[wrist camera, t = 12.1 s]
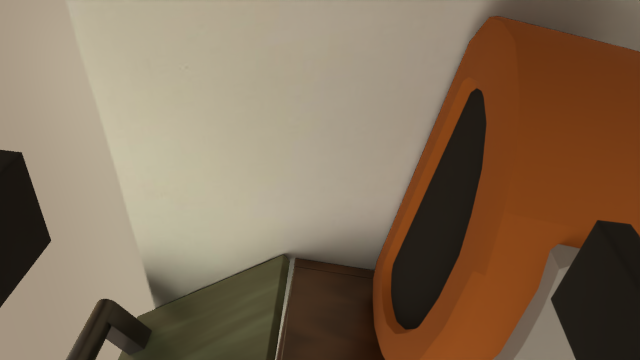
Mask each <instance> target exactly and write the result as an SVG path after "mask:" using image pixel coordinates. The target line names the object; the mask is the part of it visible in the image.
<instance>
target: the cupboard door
mask: <svg viewBox="0 0 640 360" xmlns="http://www.w3.org/2000/svg"><path fill="white" fill-rule="evenodd" d="M289 263H290V261H289V260H288V259H287V258H286V257H285V256H284V255H282V256H279V257H277V258H275V259H272V260H270V261H268V262H265V263H263V264H261V265H258V266H256V267H253V268H251V269H249V270H246V271H244V272H242V273H239V274H237V275H235V276H232V277H230V278H228V279H225V280H223V281H220V282H218V283H216V284H213V285H211V286H209V287H206V288H204V289H202V290H199V291H197V292H195V293H192V294H190V295H187V296H185V297H183V298H180V299H178V300H176V301H173V302H171V303H169V304H166V305H164V306H162V307H159V308H157V309H154V310H152V311H150V312H147V313H145V314H143V315H140V316H138V317H137V318H135V317H134V316H133V315H131V314H130V313H129V312H128V311H126V310H125V309H124V308H122V307H121V306H120V305H119V304H117V303H116V302H114V301H112V300H109V299H101V300H99V301H98V302H97V304H96V306H95V308H94V310H93V311H92V313H91V315H90V317H89V319H88V320H87V322H86V324H85V326H84V328H83V330H82V331H81V333H80V335H79V337H78V339H77V340H76V342H75V344H74V346H73V348H72V350H71V352H70V353H69V355H68V357H67V359H66V360H95V359H96V357H97V355H98V353H99V351H100V349H101V347H102V345H103V343H104V341H105V339H107V340H109V341H110V342H111V343H113V344H114V345H116V346H117V347H118V348H120V349H121V350H122V352H121V354H120V357H119V359H118V360H275V356H276V350H277V343H278V336H279V330H280V323H281V316H282V310H283V303H284V296H285V290H286V283H287V276H288V270H289Z"/></svg>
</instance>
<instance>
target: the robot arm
mask: <svg viewBox="0 0 640 360" xmlns="http://www.w3.org/2000/svg"><path fill="white" fill-rule="evenodd" d="M50 241H51V239H50V236H49V233H48V230H47V227H46V224H45V221H44V218H43V215H42V212H41V209H40V206H39V203H38V200H37V197H36V194H35V191H34V188H33V185H32V182H31V179H30V176H29V173H28V170H27V167H26V164H25V161H24V158H23V155H22V153H21V152H14V151H5V150H0V307H1V306H2V305H3V303H4V302H5V301H6V299H7V298H8V297H9V295H10V294H11V293H12V291H13V290H14V289H15V288H16V286H17V285H18V283H19V282H20V281H21V280H22V278H23V277H24V276H25V274H26V273H27V272H28V271H29V269H30V268H31V267H32V265H33V264H34V263H35V261H36V260H37V259H38V258H39V256H40V255H41V254H42V252H43V251H44V250H45V248H46V247H47V246H48V244H49V243H50ZM551 302H552V304H553V306H554V309H555V311H556V314H557V316H558V318H559V321H560V323H561V326H562V328H563V330H564V333H565V335H566V338H567V340H568V342H569V345H570V347H571V350H572V352H573V354H574V357H575V359H576V360H640V236H639V235H638V233H637V232H636V231H635V229H634V228H633V226H632V225H631V224H627V223H619V222H610V221H602V220H597V221H596V223H595V225H594V227H593V228H592V230H591V232H590V233H589V235H588V237H587V238H586V240H585V242H584V243H583V245H582V247H581V248H580V250H579V252H578V254H577V255H576V257H575V259H574V260H573V262H572V264H571V265H570V267H569V269H568V270H567V272H566V274H565V275H564V277H563V279H562V281H561V282H560V284H559V286H558V287H557V289H556V291H555V292H554V294H553V296H552V297H551Z"/></svg>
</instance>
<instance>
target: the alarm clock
mask: <svg viewBox="0 0 640 360" xmlns="http://www.w3.org/2000/svg"><path fill="white" fill-rule="evenodd" d="M597 220H602V221H610V222H619V223H627V224H631V225H632V226H633V228H634V229H635V231H636V232H637V233H638V235H639V236H640V52H638V51H635V50H631V49H628V48H624V47H620V46H616V45H612V44H608V43H604V42H600V41H596V40H592V39H588V38H584V37H580V36H576V35H572V34H568V33H564V32H560V31H556V30H552V29H548V28H544V27H540V26H536V25H532V24H528V23H524V22H520V21H516V20H512V19H508V18H504V17H499V16H494V17H489V18H488V19H487V21H486V22H485V23H484V24H483V26H482V27H481V28H480V29H479V31H478V32H477V33H476V34H475V36H474V37H473V38H472V39H471V41H470V42H469V44H468V47H467V49H466V51H465V54H464V56H463V58H462V61H461V63H460V66H459V68H458V70H457V73H456V75H455V77H454V80H453V82H452V85H451V87H450V89H449V92H448V94H447V96H446V99H445V101H444V104H443V106H442V108H441V111H440V113H439V115H438V118H437V120H436V123H435V125H434V127H433V130H432V132H431V134H430V137H429V139H428V141H427V144H426V146H425V149H424V151H423V153H422V156H421V158H420V160H419V163H418V165H417V168H416V170H415V172H414V175H413V177H412V179H411V182H410V184H409V187H408V189H407V191H406V194H405V196H404V198H403V201H402V203H401V206H400V208H399V210H398V213H397V215H396V217H395V220H394V222H393V225H392V227H391V229H390V232H389V234H388V236H387V239H386V241H385V244H384V246H383V248H382V251H381V253H380V255H379V258H378V260H377V263H376V268H375V273H374V277H373V313H374V327H375V331H376V335H377V338H378V342H379V346H380V349H381V352H382V355H383V357H384V358H385V360H576V359H575V357H574V354H573V352H572V350H571V347H570V345H569V342H568V340H567V338H566V335H565V333H564V330H563V328H562V326H561V323H560V321H559V318H558V316H557V314H556V311H555V309H554V306H553V304H552V302H551V297H552V296H553V294H554V292H555V291H556V289H557V287H558V286H559V284H560V282H561V281H562V279H563V277H564V275H565V274H566V272H567V270H568V269H569V267H570V265H571V264H572V262H573V260H574V259H575V257H576V255H577V254H578V252H579V250H580V248H581V247H582V245H583V243H584V242H585V240H586V238H587V237H588V235H589V233H590V232H591V230H592V228H593V227H594V225H595V223H596V221H597Z"/></svg>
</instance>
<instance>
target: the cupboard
mask: <svg viewBox="0 0 640 360" xmlns="http://www.w3.org/2000/svg"><path fill="white" fill-rule="evenodd" d="M374 273H375V271H373V270H367V269H360V268H354V267H348V266H342V265H335V264H329V263H323V262H316V261H310V260H304V259H297V258H296V259H295V264H294V269H293V274H292V280H291V285H290V290H289V295H288V301H287V306H286V311H285V316H284V322H283V327H282V332H281V338H280V343H279V348H278V353H277V359H276V360H385V358H384V357H383V355H382V352H381V349H380V346H379V342H378V338H377V335H376V331H375V327H374V313H373V277H374Z"/></svg>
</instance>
